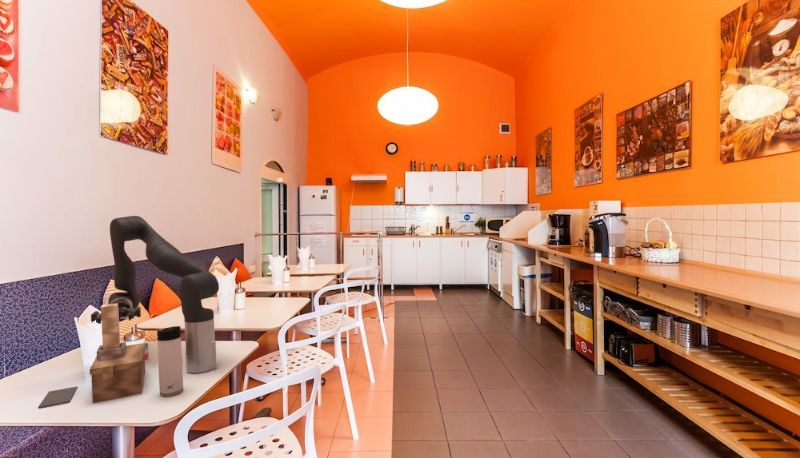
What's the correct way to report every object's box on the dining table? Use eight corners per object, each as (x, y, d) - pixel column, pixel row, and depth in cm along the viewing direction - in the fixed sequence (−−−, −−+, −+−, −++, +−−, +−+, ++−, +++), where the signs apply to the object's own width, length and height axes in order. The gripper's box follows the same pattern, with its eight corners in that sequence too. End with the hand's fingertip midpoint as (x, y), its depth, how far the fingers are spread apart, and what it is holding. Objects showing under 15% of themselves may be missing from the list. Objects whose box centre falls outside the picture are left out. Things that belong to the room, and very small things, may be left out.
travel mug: (174, 397, 122) (171, 330, 121) (154, 396, 123) (151, 329, 122) (189, 388, 128) (186, 324, 127) (170, 387, 129) (167, 323, 129)
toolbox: (146, 371, 144) (144, 333, 143) (142, 394, 125) (140, 351, 124) (101, 379, 137) (99, 340, 137) (91, 404, 119) (88, 359, 118)
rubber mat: (77, 387, 131) (77, 386, 131) (69, 402, 120) (69, 401, 120) (49, 392, 127) (48, 391, 127) (38, 408, 117) (38, 407, 117)
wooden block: (120, 353, 133) (118, 303, 132) (119, 356, 129) (116, 305, 128) (105, 355, 131) (102, 304, 130) (103, 359, 127) (100, 307, 126)
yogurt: (144, 359, 156) (143, 342, 156) (148, 359, 156) (147, 342, 156) (124, 371, 144) (123, 353, 144) (129, 371, 144) (128, 353, 144)
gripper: (95, 301, 150) (87, 310, 136) (142, 296, 157) (139, 305, 142) (96, 322, 150) (88, 333, 136) (142, 316, 157) (140, 326, 143)
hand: (114, 318), depth 139 cm, fingers open, 8 cm apart
